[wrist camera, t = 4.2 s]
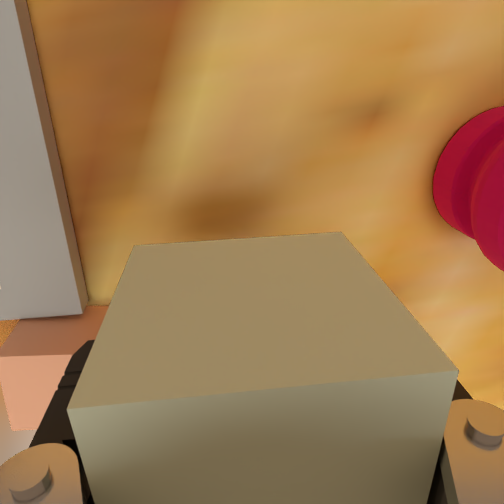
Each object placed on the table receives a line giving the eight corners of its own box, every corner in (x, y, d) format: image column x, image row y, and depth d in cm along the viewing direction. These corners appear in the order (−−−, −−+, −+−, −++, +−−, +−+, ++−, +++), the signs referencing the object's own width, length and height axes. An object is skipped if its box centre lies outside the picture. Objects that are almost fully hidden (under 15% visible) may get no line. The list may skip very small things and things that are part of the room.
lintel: (272, 300, 21) (288, 347, 18) (265, 360, 23) (279, 415, 19) (31, 303, 19) (-6, 356, 16) (42, 369, 21) (11, 430, 17)
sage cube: (341, 231, 10) (459, 370, 5) (329, 387, 12) (407, 582, 7) (134, 245, 9) (66, 409, 5) (160, 404, 11) (130, 623, 7)
